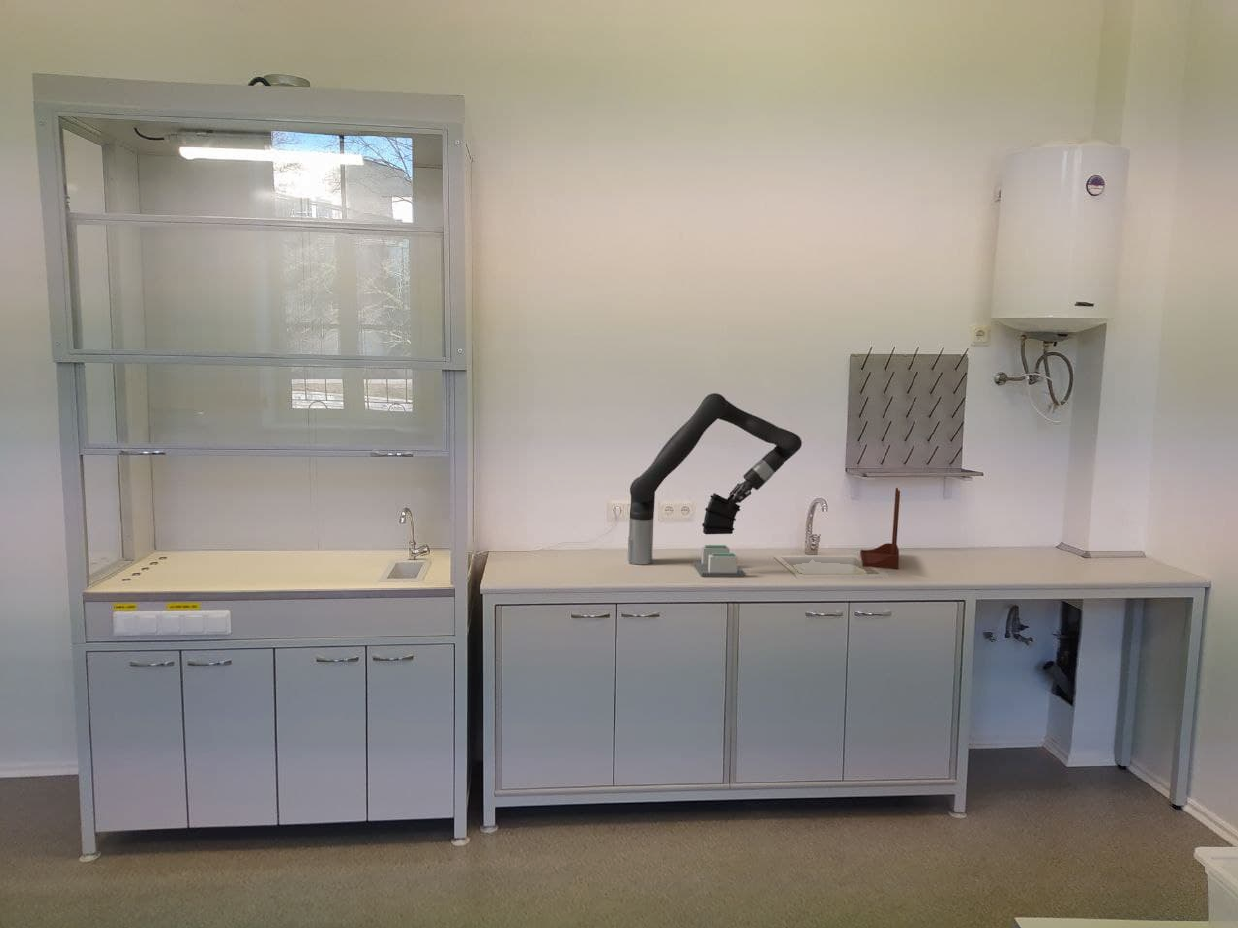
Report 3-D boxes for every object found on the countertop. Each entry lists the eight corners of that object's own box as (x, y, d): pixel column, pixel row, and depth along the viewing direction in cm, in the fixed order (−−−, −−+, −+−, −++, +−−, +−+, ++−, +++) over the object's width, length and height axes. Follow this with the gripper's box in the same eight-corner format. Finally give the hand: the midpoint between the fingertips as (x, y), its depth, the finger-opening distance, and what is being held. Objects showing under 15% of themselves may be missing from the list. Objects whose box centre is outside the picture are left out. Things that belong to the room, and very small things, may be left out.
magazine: (694, 528, 286) (712, 492, 285) (724, 542, 289) (742, 506, 288) (697, 530, 282) (715, 494, 282) (727, 544, 285) (745, 508, 285)
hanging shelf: (860, 553, 325) (864, 483, 322) (893, 556, 322) (897, 485, 319) (862, 566, 302) (867, 491, 299) (898, 569, 299) (903, 493, 295)
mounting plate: (701, 577, 279) (702, 554, 278) (693, 565, 295) (694, 544, 295) (745, 577, 280) (746, 555, 279) (734, 565, 297) (735, 544, 296)
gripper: (747, 465, 291) (714, 496, 292) (757, 469, 277) (722, 502, 278) (760, 479, 292) (728, 510, 293) (771, 484, 278) (736, 517, 279)
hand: (725, 506), depth 285 cm, fingers closed on magazine, 4 cm apart
